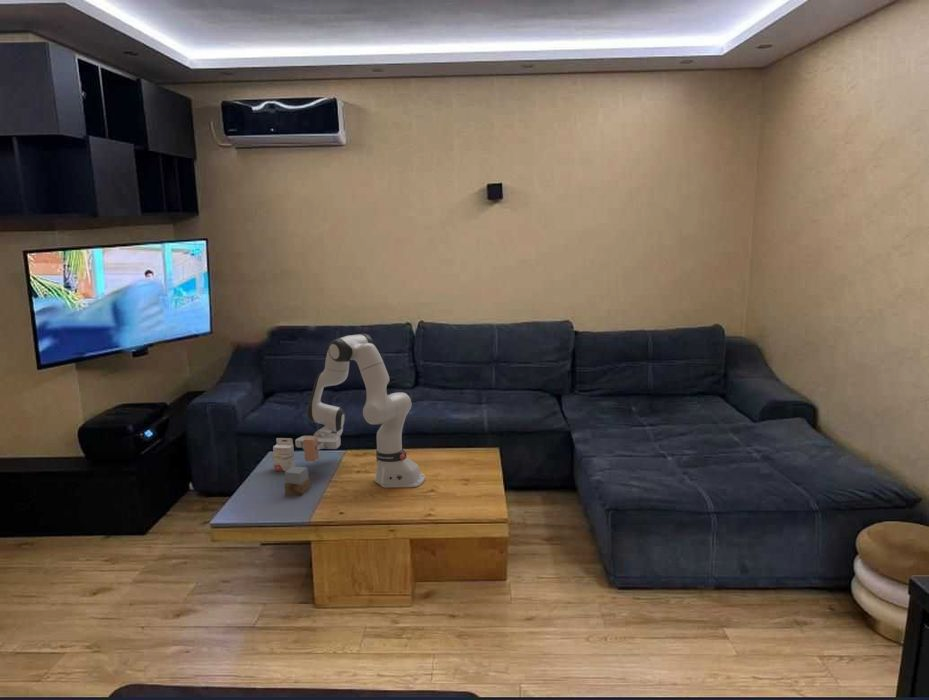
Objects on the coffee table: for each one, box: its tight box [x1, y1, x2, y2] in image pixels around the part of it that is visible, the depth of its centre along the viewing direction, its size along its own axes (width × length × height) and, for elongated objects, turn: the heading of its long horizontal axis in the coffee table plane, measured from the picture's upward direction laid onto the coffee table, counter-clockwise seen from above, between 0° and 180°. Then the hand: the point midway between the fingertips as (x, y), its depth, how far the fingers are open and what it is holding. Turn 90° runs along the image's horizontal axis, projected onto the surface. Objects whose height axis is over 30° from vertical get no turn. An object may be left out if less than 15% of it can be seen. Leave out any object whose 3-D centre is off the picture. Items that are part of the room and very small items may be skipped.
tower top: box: [284, 465, 309, 485], centre depth 289 cm, size 7×7×5 cm
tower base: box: [284, 477, 312, 496], centre depth 290 cm, size 8×8×5 cm
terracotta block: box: [303, 437, 320, 462], centre depth 302 cm, size 4×4×10 cm
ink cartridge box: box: [272, 437, 296, 472], centre depth 315 cm, size 9×5×15 cm, turn 84°
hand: (310, 448), depth 301 cm, fingers closed on terracotta block, 4 cm apart
